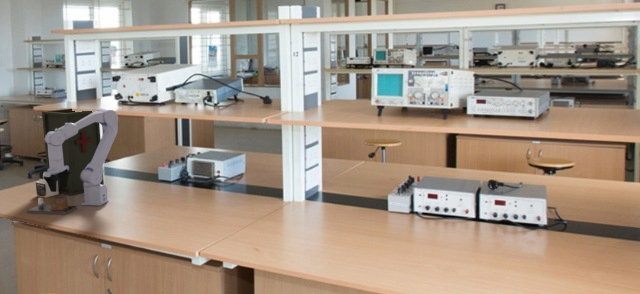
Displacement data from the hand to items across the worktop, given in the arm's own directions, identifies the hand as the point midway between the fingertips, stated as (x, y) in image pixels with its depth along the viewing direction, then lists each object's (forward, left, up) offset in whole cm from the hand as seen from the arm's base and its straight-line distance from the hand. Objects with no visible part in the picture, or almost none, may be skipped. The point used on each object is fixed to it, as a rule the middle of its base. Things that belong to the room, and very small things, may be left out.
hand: (58, 189), depth 247 cm
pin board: (+3, +2, -9) cm, 10 cm away
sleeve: (-1, +2, -8) cm, 8 cm away
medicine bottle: (+22, -22, -10) cm, 33 cm away
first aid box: (+15, -35, -10) cm, 40 cm away
